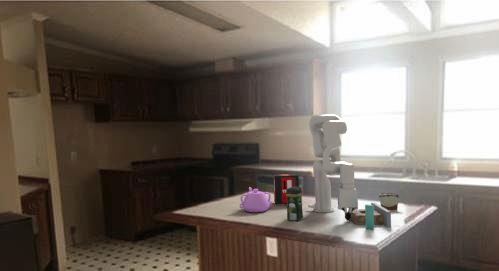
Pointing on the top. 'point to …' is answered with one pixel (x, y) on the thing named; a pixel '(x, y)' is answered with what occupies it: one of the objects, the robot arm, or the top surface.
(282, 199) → the cleaning product box
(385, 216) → the backstop wall
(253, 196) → the teapot
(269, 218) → the top surface
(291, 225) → the top surface
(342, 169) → the robot arm
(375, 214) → the socket block
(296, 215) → the coffee jar
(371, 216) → the dowel
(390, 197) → the food container
